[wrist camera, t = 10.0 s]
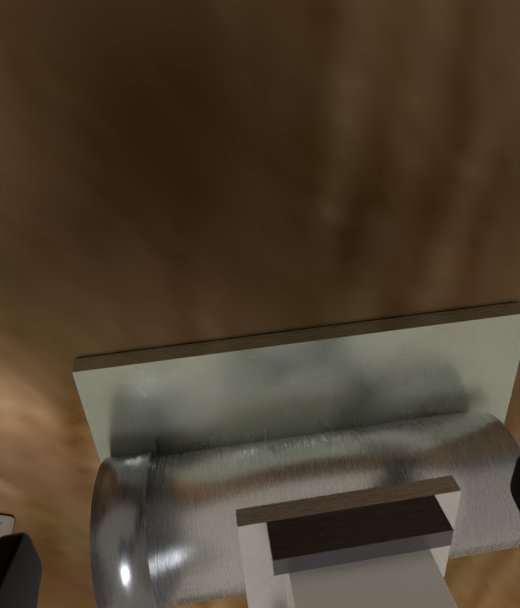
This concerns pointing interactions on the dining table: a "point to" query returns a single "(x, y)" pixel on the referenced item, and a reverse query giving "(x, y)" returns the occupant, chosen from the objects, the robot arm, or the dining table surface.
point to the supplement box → (6, 525)
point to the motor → (299, 454)
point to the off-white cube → (372, 584)
